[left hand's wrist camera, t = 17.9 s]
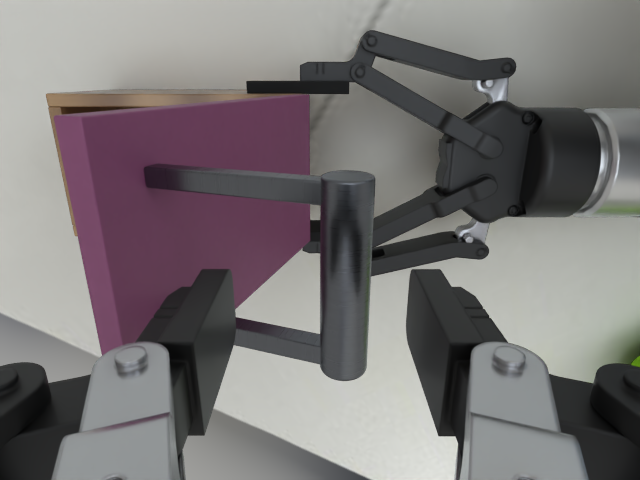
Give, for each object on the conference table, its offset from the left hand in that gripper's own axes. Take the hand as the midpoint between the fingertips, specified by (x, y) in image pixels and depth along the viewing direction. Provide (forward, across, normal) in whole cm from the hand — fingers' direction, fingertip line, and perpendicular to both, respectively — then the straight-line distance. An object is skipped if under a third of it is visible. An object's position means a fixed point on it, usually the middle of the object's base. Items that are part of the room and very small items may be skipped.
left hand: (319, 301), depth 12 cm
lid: (+10, +4, 0) cm, 11 cm away
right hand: (+20, +5, 0) cm, 21 cm away
